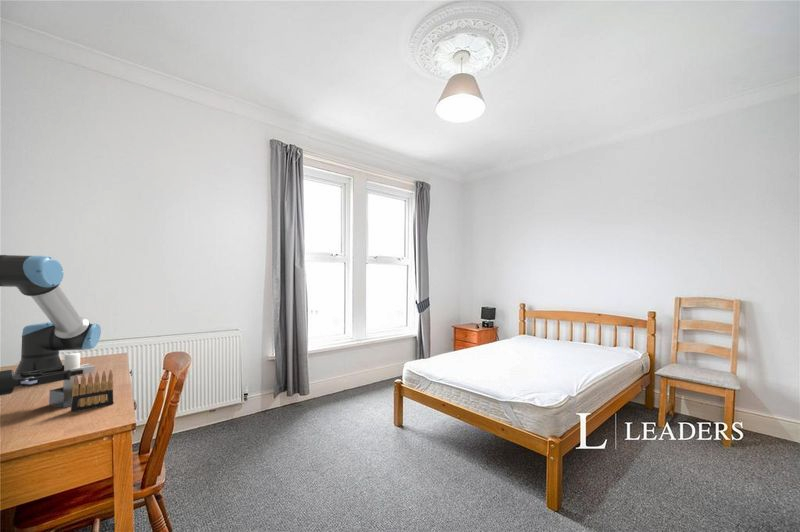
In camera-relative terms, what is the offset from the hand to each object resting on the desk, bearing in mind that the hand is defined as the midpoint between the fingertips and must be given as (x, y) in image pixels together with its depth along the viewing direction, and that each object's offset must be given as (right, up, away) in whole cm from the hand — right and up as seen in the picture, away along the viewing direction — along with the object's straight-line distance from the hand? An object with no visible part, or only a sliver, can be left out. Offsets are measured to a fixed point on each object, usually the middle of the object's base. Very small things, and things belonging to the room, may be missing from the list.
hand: (91, 368), depth 125 cm
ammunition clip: (+8, -11, -9) cm, 16 cm away
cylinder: (-3, -8, -5) cm, 10 cm away
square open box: (-3, -11, -5) cm, 12 cm away
